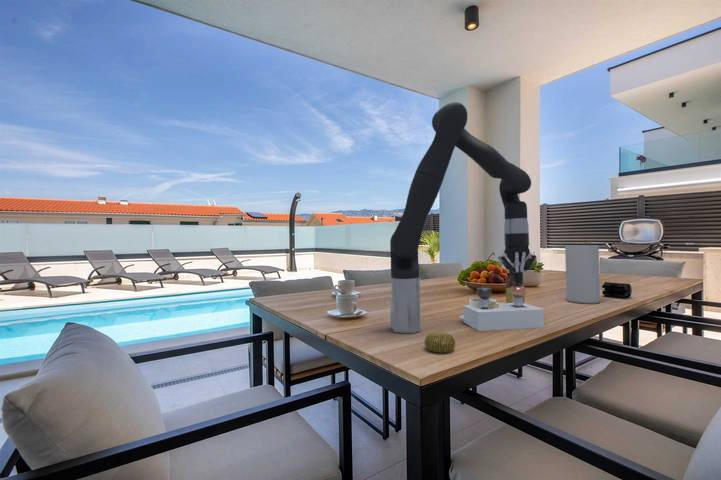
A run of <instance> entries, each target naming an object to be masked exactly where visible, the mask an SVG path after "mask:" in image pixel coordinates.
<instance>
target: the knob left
mask: <svg viewBox="0 0 721 480" xmlns="http://www.w3.org/2000/svg"><path fill="white" fill-rule="evenodd" d="M492 293H493V292H492V288H491V287H476V297H478V298H479V300H480V299H483V300H484V301H481V307H482V308H481V309H488V304H490V298H491V297H492V295H493V294H492ZM488 302H489V303H488Z"/></svg>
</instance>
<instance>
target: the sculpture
mask: <svg viewBox="0 0 721 480" xmlns="http://www.w3.org/2000/svg"><path fill="white" fill-rule="evenodd" d="M424 346H425V348H426V349H428V350H429V351H431V352H434V353H439V354H440V353H442V354H443V353H449V352H452V351H453V350H454V348H455V346H456V340H455V338H454V337H453V336H452V335H450V334H449V333H445V332H431V333H430V334H427V335H426V337H425V339H424Z"/></svg>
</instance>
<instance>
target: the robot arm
mask: <svg viewBox="0 0 721 480" xmlns="http://www.w3.org/2000/svg"><path fill="white" fill-rule="evenodd" d="M467 122H468V111H467V108H466V106H465V105H464V104H462V103H461V102H459V101H454V102H453V101H452V102H450V103H447V104H445V105H444V106H442V107H441V108H439V109H438V110H437V111H436V112H435V113H434V114H433V116H432V118H431V126H432V129H433V131H434V132H435V134H434V137H433V140H432V142H431V144H430V146H429V147H428V149H427V151H426V152H425V154H424V155H423V157H422V159H421V160H420V161H419V163H418V164H417V168H416V170H415V172H414V176H413V177H412V180H411V184H410V187H409V190H408V194H407V198H406V202H405V207H404V211H403V213H402V216H401V218H400V220H399V223H398V224H397V226H396V228H395V230H394V232H393V234H392V235H391V237H390V240H389V241H390V242H389V244H390V245H389V246H390V250H389V251H390V277H391V279H390V280H391V281H390V284H391V285H390V286H391V289H390V290H391V299H390V300H389V301H390V303H389V304H390V307H389V308H390V329H391V330H392V332H394V333H401V334H414V333H418V332H420V331H422V329H421V327H422V325H421V324H422V323H421V295H420V294H421V293H420V292H421V290H420V289H421V287H420V284H421V283H420V265H419V246H420V242H421V238H422V237H421V236H422V233H423V230H424V227H425V223H426V221H427V217H428V215H429V213H430V211H431V209H432V208H433V207H434V206H433V205H434V203H435V201H436V199H437V197H438V195H439V192H440V190H441V187H442V184H443V181H444V178H445V176H446V172H447V170H448V168H449V164H450V162H451V160H452V159H451V158H452V155H453V153H454V150H455V148H457V149H459V150H460V151H461V152H462V153H463V154H465V155H467V157H469V158H470V159H471V160H472V161H474V163H476V164H477V165H478V166H479V167H480V168H481V169H482V170H484V171H485V173H487V174H488V176H490V177H491V178H493V179H500V183H499V186H498V188H499V193H500V195H499V196H500V198H501V201H502V205H503V208H504V224H503V225H504V226H503V227H504V228H503V229H504V234H503V235H504V248H505V249H504V252H503V254H501V255H499V256H498V257H497V259H498V260H499V262H501V264H502V265H503V266H504V268H505V269H506V270H507V271H508V272H509V271H512V273H513V281H514V283H517V284H519V283H522V282H523V283H524V278H523V277H524V272H525V271H529V269H530V267H532V265H533V263H534V262H535V261H536V259H537V256H536V255H535V254H532V253H531V251H530V247H529V246H530V233H529V232H530V231H529V228H530V227H529V220H528V205H527V202H525V201H523V200H520V197H519V195H520V194H524V193H526V192H528V191H529V190H530V188H531V186H532V180H531V179H532V178H531V177H530V175H529V174H528V173H527V172H526V171H525V170H523V169H522V168H520V167H518V166H517V165H515V164H514V163H511V162H510V161H508V160H507V159H506V158H505V157H504V156H503V155H502V154H500V153H499V151H498V150H496V149H495V148H494V147H493V146H491V145H490V144H488V143H486V142H485V141H482V140H481V139H479V138H477V137H475V136H474V135H473V134H471V133H470V132H468V130H466V128H465V127H466V125H467Z"/></svg>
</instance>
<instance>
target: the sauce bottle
mask: <svg viewBox="0 0 721 480" xmlns="http://www.w3.org/2000/svg"><path fill="white" fill-rule="evenodd" d="M512 286H521V287H525V286H524V281H523V282H522V283H519V284H517V283H514V281H513V273H512V271H509V270H508V276H507V278H506V281H505V296H506V297H505V299H506V300H505V301H506V303H513V295H511V291H510V287H512ZM523 303H525V295H523Z"/></svg>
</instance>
